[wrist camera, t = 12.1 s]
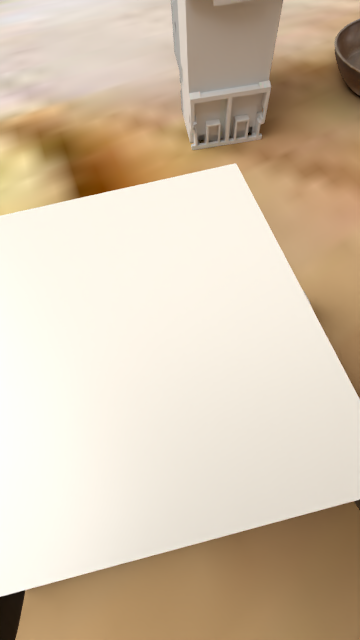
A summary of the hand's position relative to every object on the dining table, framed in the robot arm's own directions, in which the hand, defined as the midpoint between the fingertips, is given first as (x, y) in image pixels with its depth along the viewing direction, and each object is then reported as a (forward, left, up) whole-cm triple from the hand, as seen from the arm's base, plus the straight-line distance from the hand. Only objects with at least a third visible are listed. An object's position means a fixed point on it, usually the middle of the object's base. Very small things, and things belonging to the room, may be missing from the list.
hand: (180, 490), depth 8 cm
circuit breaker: (+25, +28, -9) cm, 39 cm away
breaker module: (+1, +3, -8) cm, 8 cm away
